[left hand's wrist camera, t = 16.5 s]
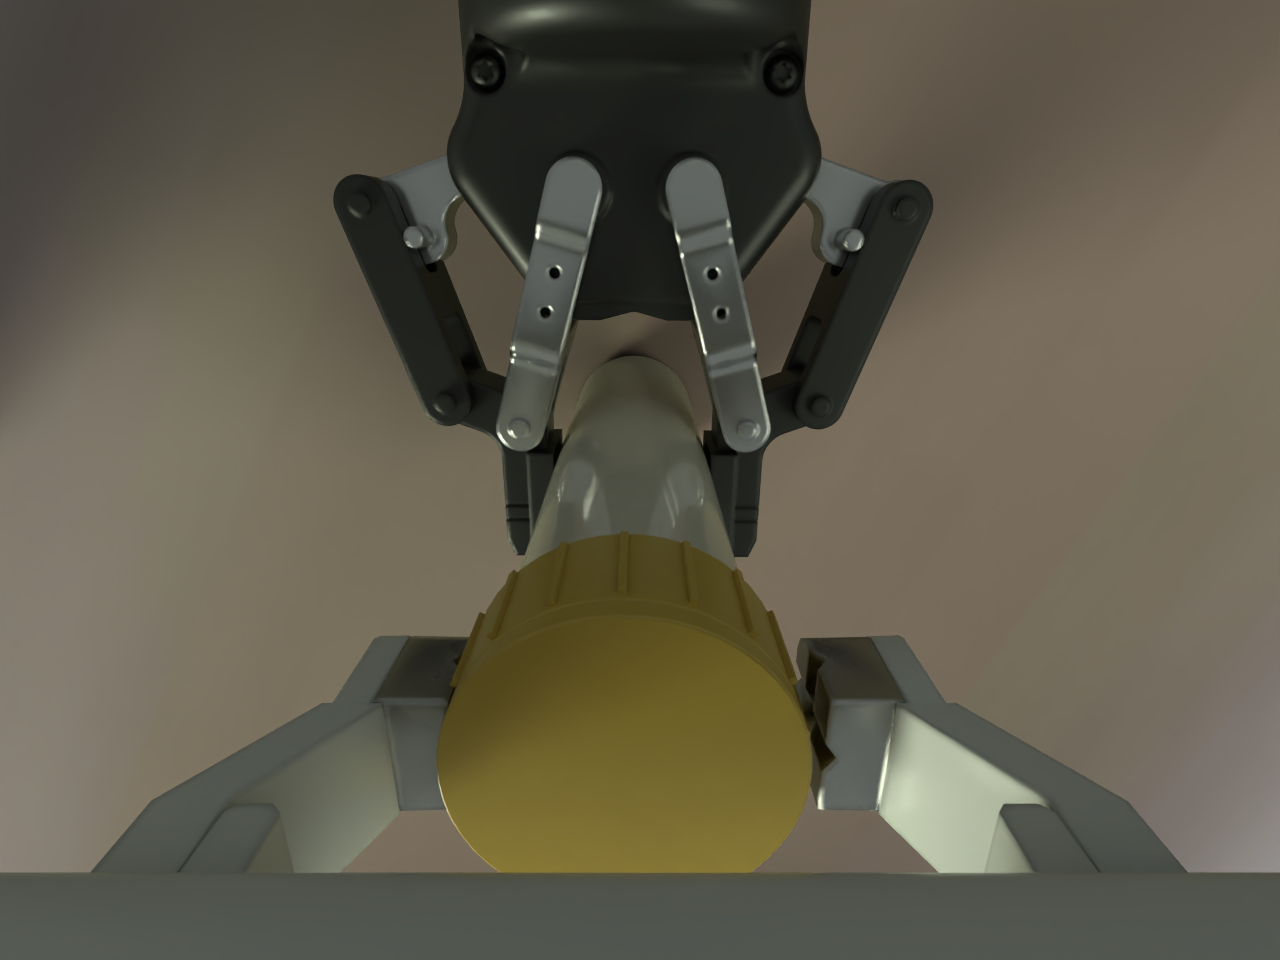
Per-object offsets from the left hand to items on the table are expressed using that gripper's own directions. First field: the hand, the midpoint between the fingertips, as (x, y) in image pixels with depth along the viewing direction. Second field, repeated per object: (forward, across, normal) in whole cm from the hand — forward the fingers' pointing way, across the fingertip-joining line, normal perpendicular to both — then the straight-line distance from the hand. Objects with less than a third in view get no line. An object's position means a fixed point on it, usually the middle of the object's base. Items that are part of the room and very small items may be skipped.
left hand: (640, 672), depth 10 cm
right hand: (+9, 0, -3) cm, 9 cm away
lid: (-2, 0, 0) cm, 2 cm away
